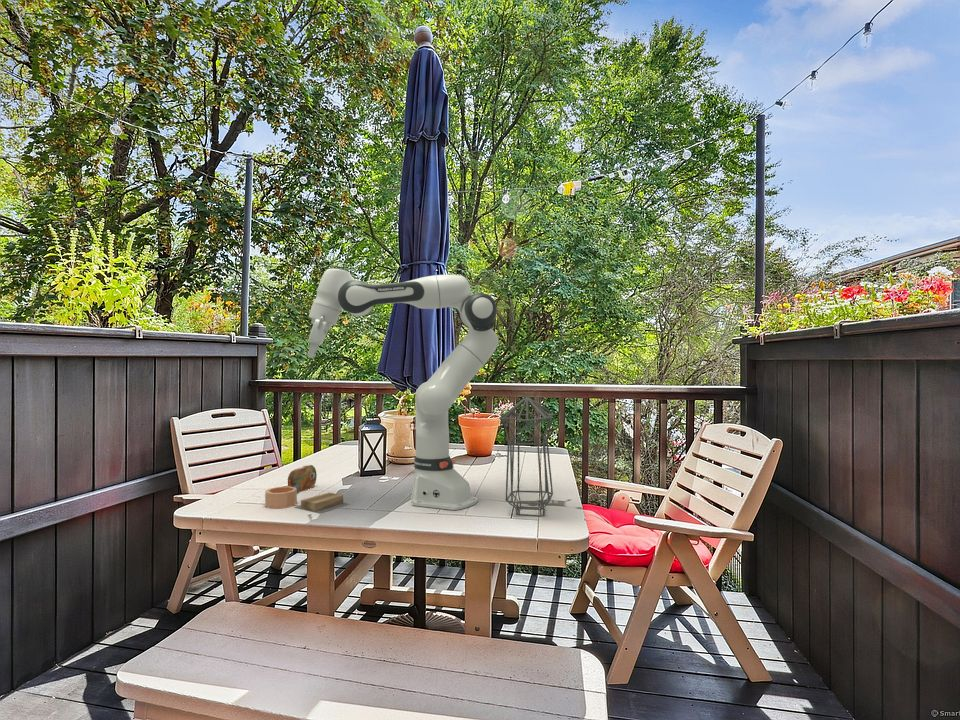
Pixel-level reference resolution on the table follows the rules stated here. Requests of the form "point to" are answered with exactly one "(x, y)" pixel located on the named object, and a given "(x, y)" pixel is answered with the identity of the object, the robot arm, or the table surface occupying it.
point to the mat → (326, 508)
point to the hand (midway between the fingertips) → (310, 357)
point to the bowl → (280, 497)
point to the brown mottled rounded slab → (302, 478)
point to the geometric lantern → (545, 416)
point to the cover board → (321, 501)
